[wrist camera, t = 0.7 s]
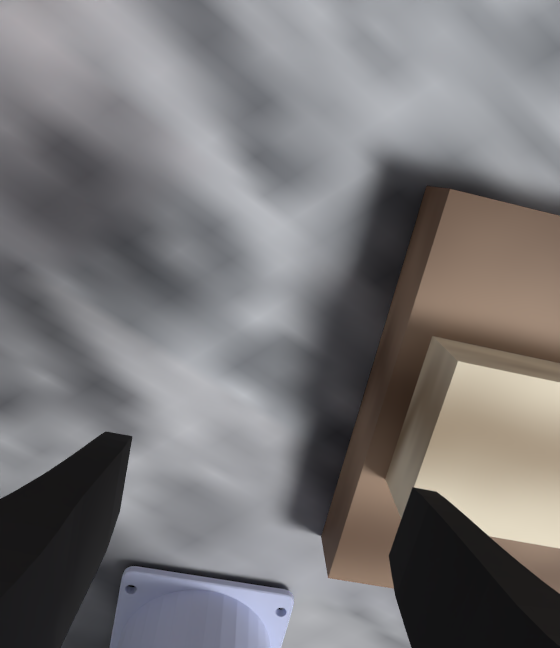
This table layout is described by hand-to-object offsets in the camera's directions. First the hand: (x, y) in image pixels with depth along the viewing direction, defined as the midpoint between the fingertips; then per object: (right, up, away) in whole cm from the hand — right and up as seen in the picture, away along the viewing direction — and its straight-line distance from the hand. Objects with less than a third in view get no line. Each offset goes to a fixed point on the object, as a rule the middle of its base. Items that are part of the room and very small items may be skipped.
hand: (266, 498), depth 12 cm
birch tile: (+9, 0, +8) cm, 12 cm away
